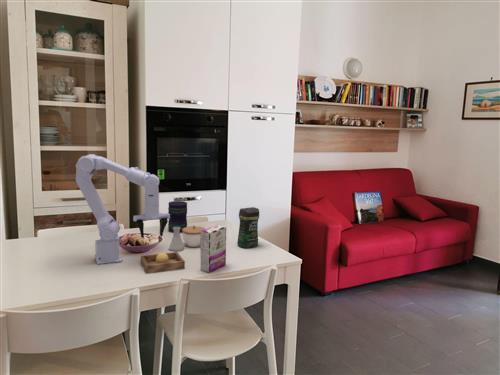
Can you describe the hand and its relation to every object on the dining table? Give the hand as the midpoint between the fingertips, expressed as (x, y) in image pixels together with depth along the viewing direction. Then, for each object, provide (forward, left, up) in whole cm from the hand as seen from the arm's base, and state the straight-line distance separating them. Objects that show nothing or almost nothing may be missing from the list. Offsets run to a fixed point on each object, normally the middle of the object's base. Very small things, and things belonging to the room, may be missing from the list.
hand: (151, 236), depth 164 cm
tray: (+2, -9, -10) cm, 13 cm away
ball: (+3, -8, -10) cm, 13 cm away
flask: (+13, +10, -10) cm, 19 cm away
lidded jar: (+22, +13, -10) cm, 27 cm away
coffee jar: (+46, +4, -10) cm, 47 cm away
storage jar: (+21, +39, -10) cm, 45 cm away
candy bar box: (+21, -17, -10) cm, 29 cm away
